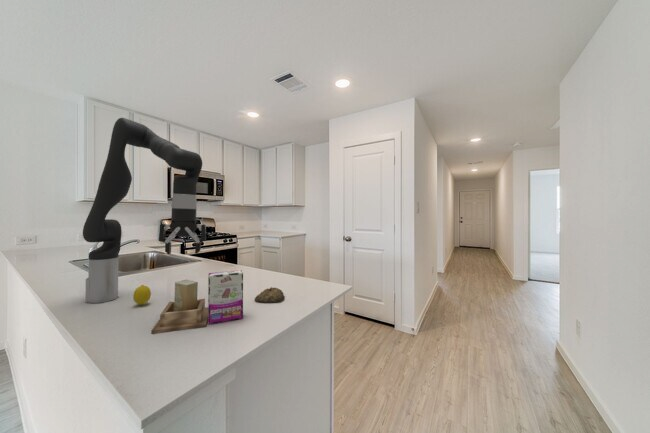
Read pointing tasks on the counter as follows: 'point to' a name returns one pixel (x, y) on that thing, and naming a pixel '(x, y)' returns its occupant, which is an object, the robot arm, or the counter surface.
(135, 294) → the lemon
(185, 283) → the skincare box
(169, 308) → the walnut stand
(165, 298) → the counter surface
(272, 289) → the bread roll
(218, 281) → the candy bar box
